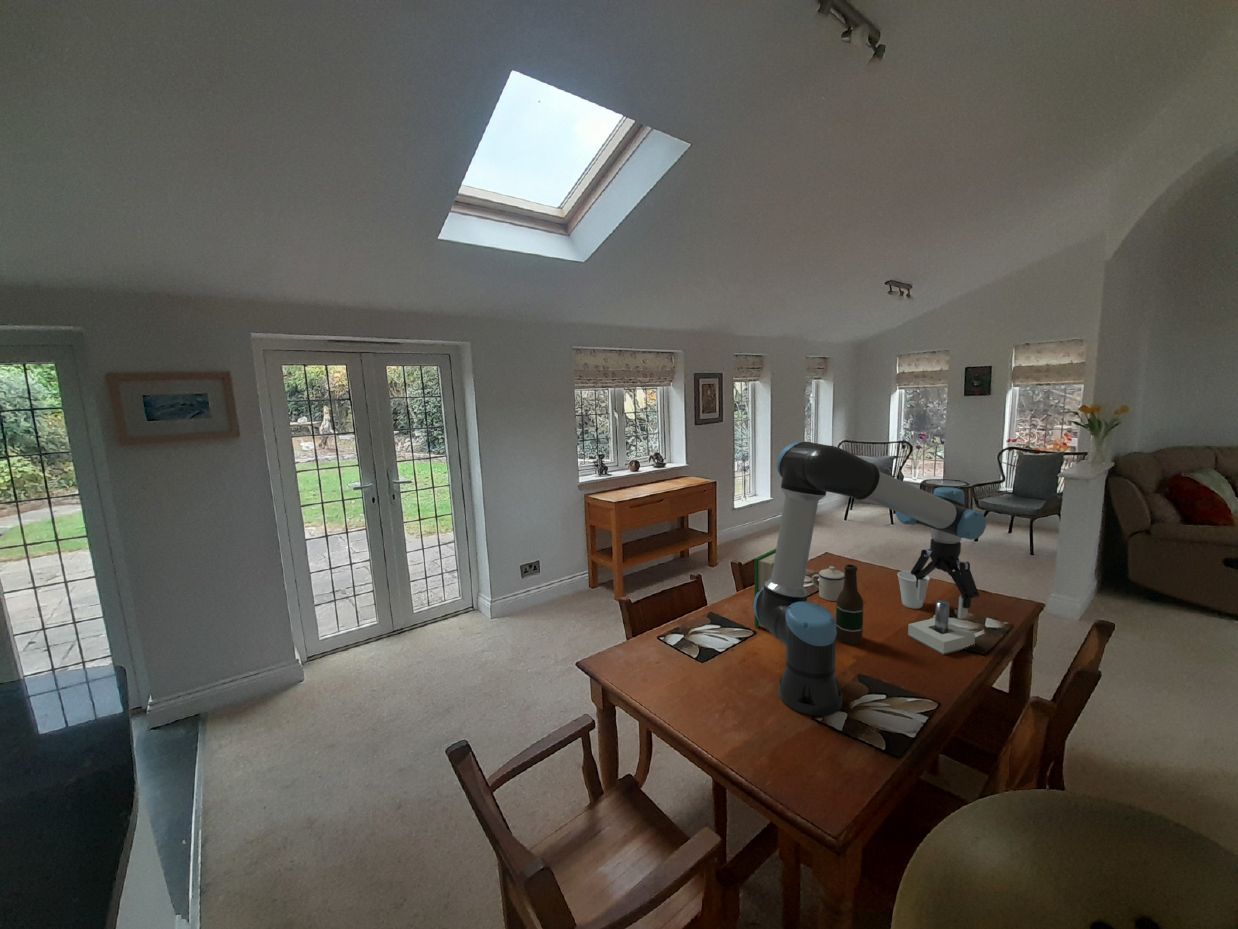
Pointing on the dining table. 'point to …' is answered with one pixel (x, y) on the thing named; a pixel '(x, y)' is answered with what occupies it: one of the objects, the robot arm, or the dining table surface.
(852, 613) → the beer bottle
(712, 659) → the dining table surface
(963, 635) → the bore block
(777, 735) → the dining table surface
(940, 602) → the pin
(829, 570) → the teacup with lid
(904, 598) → the cup
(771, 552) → the hardback book
